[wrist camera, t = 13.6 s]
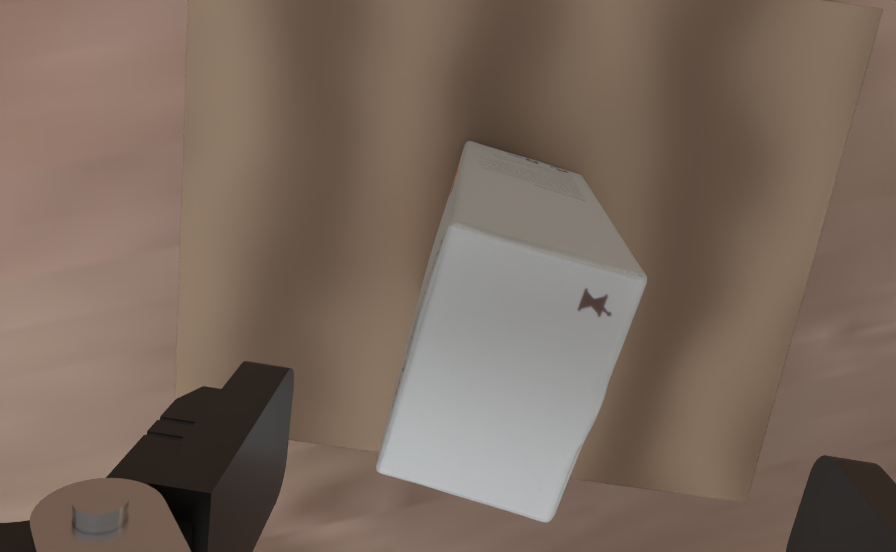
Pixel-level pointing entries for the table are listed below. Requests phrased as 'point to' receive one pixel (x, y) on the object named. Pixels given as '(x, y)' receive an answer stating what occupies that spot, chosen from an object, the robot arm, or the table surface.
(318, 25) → the walnut stand
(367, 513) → the table surface
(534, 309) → the skincare box
